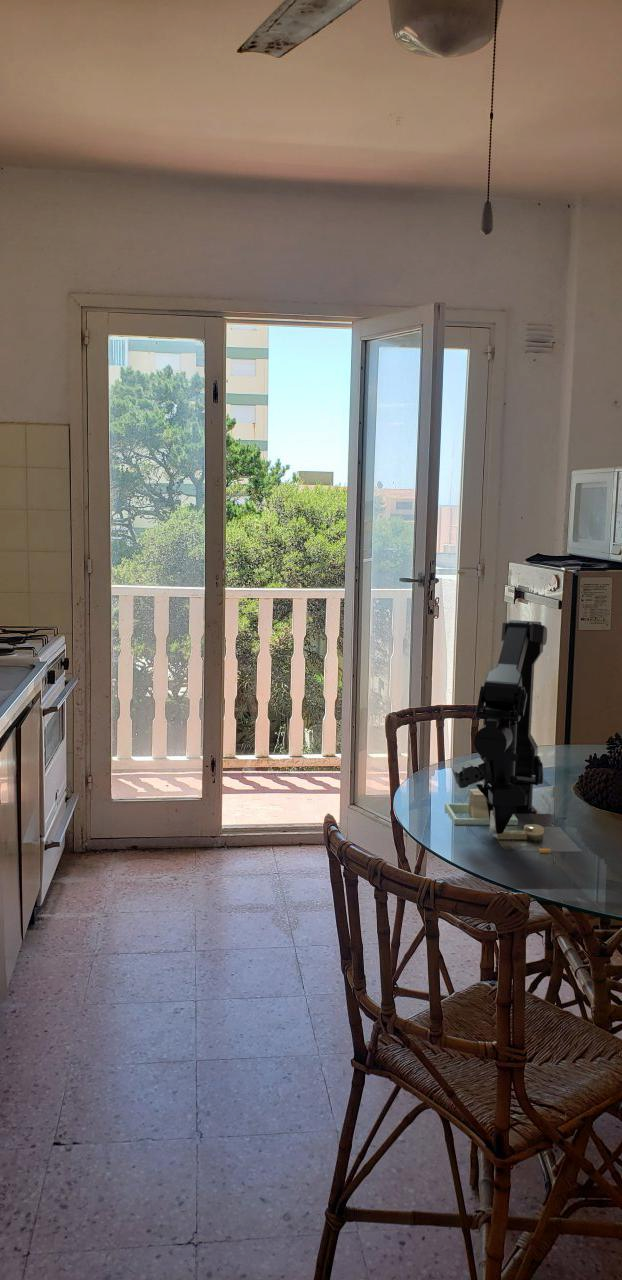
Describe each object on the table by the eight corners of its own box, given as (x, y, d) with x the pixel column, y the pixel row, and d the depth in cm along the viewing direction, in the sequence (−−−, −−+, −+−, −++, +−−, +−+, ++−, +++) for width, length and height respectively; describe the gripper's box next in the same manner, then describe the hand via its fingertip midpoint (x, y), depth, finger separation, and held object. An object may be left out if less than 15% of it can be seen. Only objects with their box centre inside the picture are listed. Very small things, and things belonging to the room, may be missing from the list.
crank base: (487, 834, 190) (487, 823, 190) (559, 834, 191) (559, 824, 190) (505, 860, 175) (506, 849, 175) (583, 861, 176) (583, 850, 176)
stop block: (468, 817, 198) (469, 788, 197) (487, 818, 198) (489, 789, 198) (472, 824, 194) (473, 794, 193) (492, 824, 194) (493, 794, 194)
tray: (444, 815, 201) (445, 803, 201) (504, 815, 202) (505, 803, 201) (454, 831, 191) (454, 819, 191) (517, 832, 191) (518, 819, 191)
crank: (540, 834, 185) (541, 808, 184) (545, 840, 181) (547, 814, 181) (487, 834, 184) (488, 808, 184) (491, 840, 181) (492, 814, 180)
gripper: (447, 735, 189) (444, 813, 191) (466, 759, 171) (463, 846, 173) (504, 735, 190) (500, 814, 192) (530, 759, 171) (525, 846, 173)
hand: (496, 829), depth 183 cm, fingers open, 4 cm apart
